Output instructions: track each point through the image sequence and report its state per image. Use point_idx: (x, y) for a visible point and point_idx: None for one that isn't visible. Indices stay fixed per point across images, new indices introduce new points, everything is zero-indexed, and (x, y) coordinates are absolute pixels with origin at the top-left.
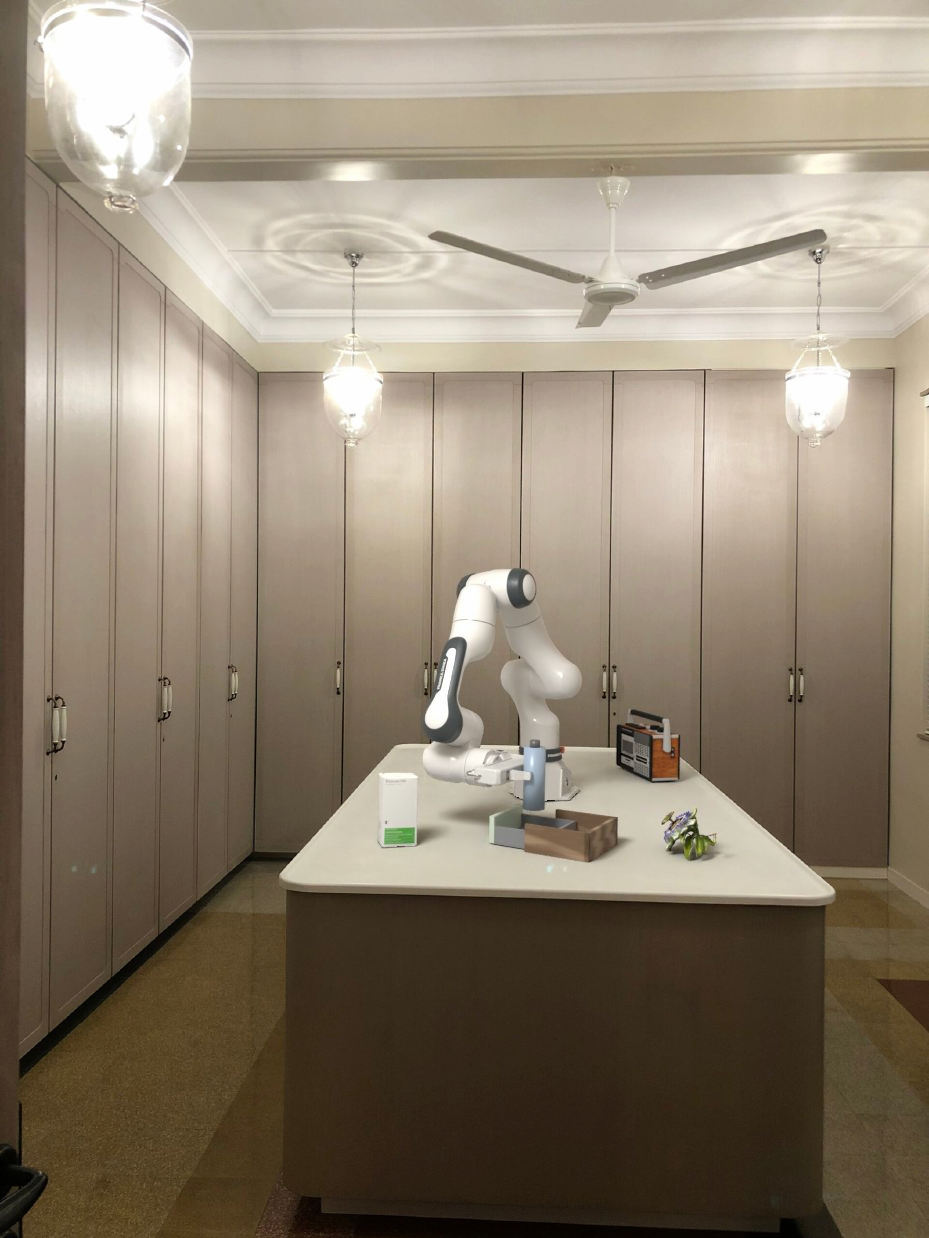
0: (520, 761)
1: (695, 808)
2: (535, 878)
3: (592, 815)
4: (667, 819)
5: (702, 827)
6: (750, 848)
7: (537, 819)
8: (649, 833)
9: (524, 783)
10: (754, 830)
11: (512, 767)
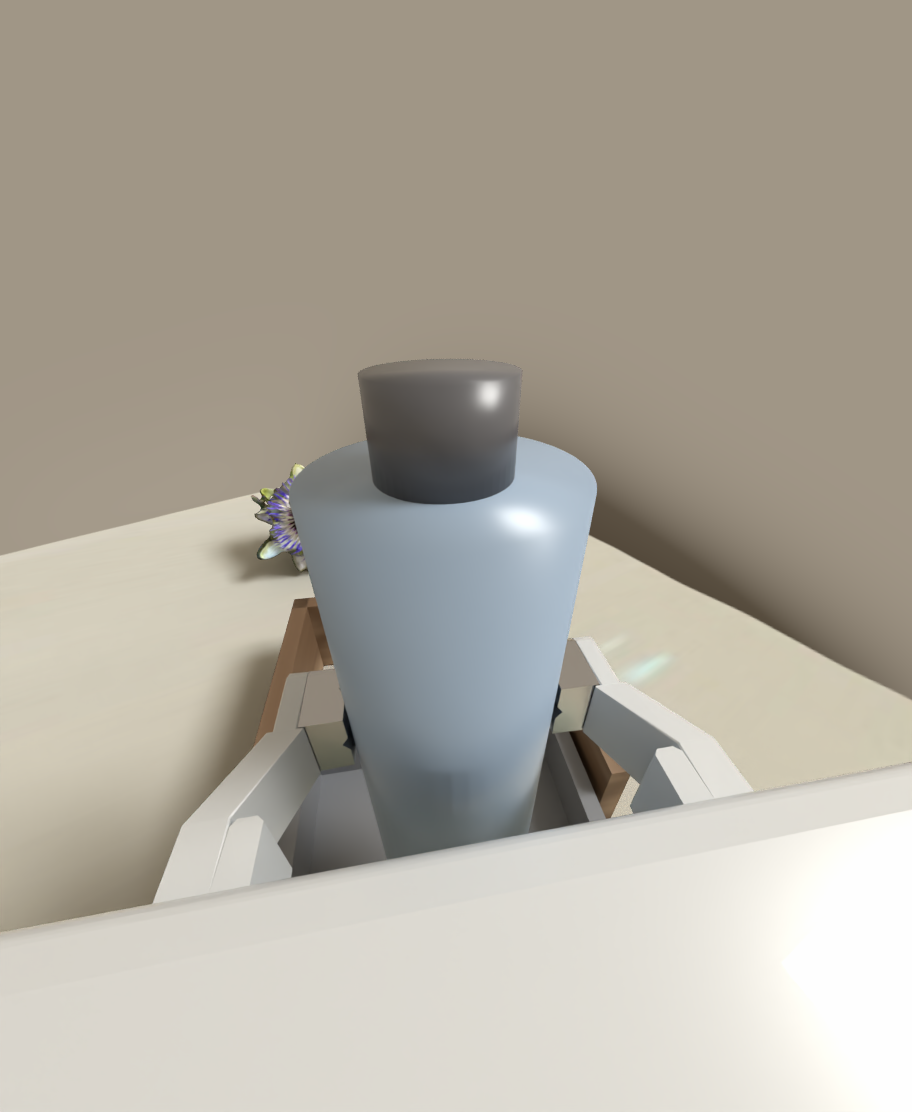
0: (248, 1007)
1: (296, 464)
2: (729, 653)
3: (295, 661)
4: None
5: (62, 591)
6: (244, 514)
7: None
8: (158, 645)
9: (537, 784)
10: (89, 534)
11: (693, 804)
